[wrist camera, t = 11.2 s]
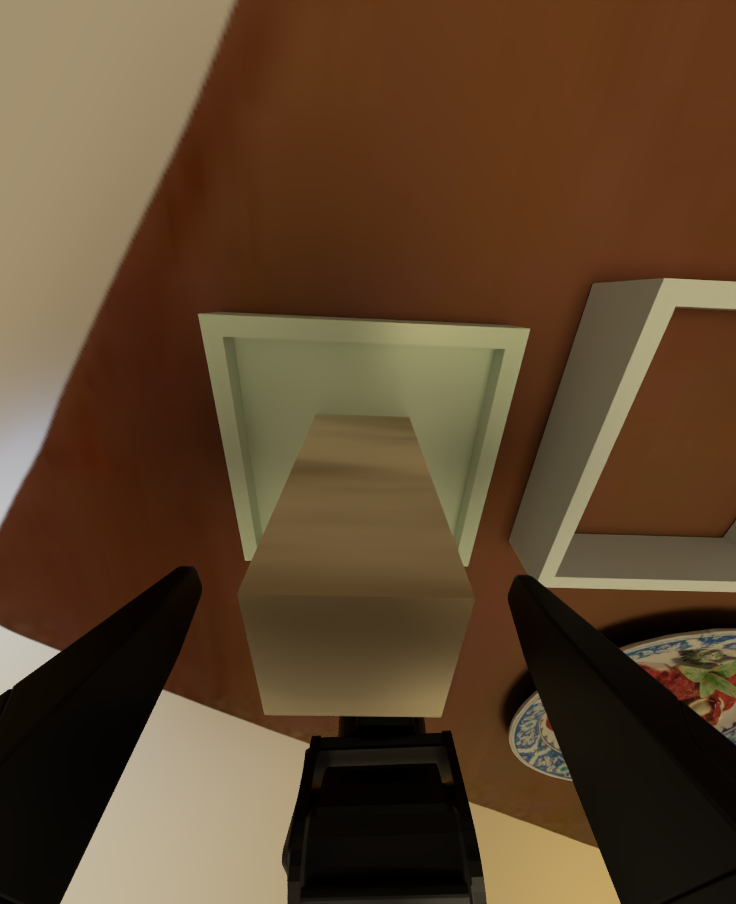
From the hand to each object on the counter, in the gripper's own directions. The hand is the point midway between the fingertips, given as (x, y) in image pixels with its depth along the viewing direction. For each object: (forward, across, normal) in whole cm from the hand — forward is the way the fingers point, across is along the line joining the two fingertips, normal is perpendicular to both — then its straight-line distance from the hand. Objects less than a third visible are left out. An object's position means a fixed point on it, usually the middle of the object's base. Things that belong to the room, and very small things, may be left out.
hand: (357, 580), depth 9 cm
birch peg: (+8, 0, 0) cm, 8 cm away
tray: (+9, 0, 0) cm, 9 cm away
